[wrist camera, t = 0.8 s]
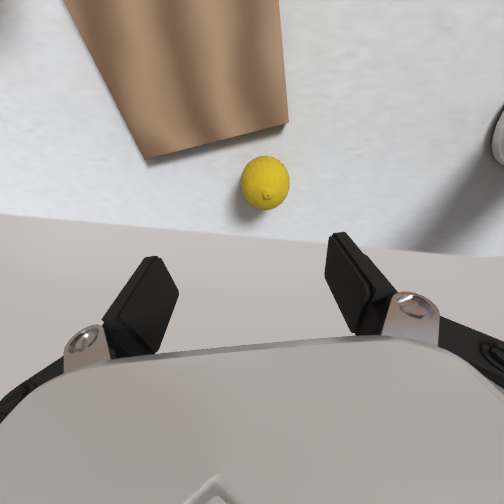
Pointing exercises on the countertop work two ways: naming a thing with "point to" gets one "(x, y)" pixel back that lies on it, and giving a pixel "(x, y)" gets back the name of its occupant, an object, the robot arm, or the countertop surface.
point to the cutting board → (188, 67)
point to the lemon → (265, 182)
